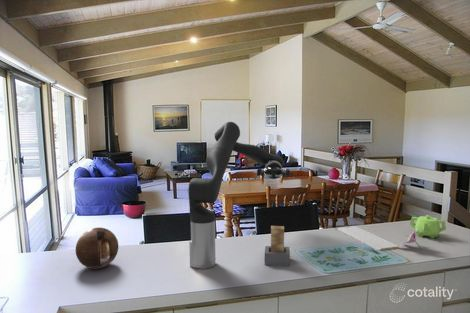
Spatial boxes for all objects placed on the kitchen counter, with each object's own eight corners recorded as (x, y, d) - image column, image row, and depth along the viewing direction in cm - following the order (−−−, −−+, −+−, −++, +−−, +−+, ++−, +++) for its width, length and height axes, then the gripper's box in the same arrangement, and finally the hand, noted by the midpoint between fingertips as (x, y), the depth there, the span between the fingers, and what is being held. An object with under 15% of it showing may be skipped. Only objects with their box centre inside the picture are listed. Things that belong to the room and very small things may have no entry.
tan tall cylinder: (270, 261, 138) (270, 228, 137) (271, 257, 142) (271, 225, 140) (283, 261, 137) (284, 228, 136) (283, 258, 141) (284, 226, 140)
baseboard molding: (375, 252, 150) (398, 249, 153) (375, 245, 150) (399, 243, 153) (334, 230, 179) (355, 228, 183) (334, 225, 179) (355, 223, 183)
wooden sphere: (77, 262, 139) (75, 225, 138) (118, 257, 145) (116, 221, 143) (75, 278, 125) (73, 236, 124) (120, 271, 131) (118, 231, 129)
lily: (415, 245, 159) (404, 226, 161) (438, 243, 149) (426, 222, 150) (399, 258, 154) (387, 238, 155) (421, 257, 144) (409, 235, 145)
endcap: (264, 264, 136) (264, 253, 136) (265, 257, 144) (265, 245, 144) (289, 266, 135) (289, 254, 134) (289, 258, 143) (289, 246, 142)
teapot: (408, 232, 174) (408, 213, 173) (428, 231, 176) (429, 211, 175) (425, 240, 162) (426, 219, 161) (447, 239, 165) (448, 218, 164)
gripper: (258, 161, 167) (256, 165, 151) (289, 161, 165) (290, 166, 149) (258, 177, 168) (256, 183, 152) (289, 177, 166) (290, 183, 150)
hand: (273, 174), depth 150 cm, fingers open, 8 cm apart
